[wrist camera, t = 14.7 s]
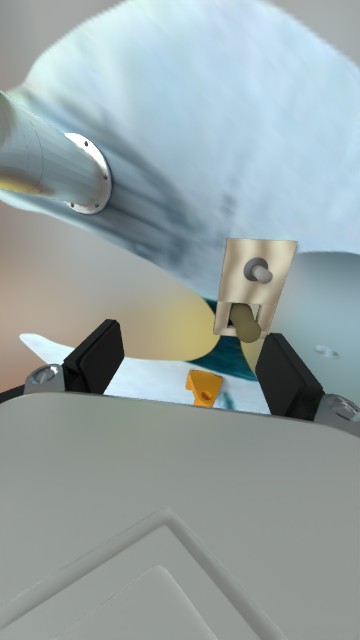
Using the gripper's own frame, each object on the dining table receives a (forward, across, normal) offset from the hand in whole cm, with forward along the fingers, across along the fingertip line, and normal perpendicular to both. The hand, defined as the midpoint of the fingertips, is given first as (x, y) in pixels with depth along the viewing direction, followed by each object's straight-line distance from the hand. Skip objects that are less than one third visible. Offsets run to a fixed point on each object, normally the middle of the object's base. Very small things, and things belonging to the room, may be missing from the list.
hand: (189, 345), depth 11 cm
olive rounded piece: (+34, -12, +13) cm, 38 cm away
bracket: (+34, -5, +39) cm, 52 cm away
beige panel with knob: (+33, -13, +7) cm, 36 cm away
